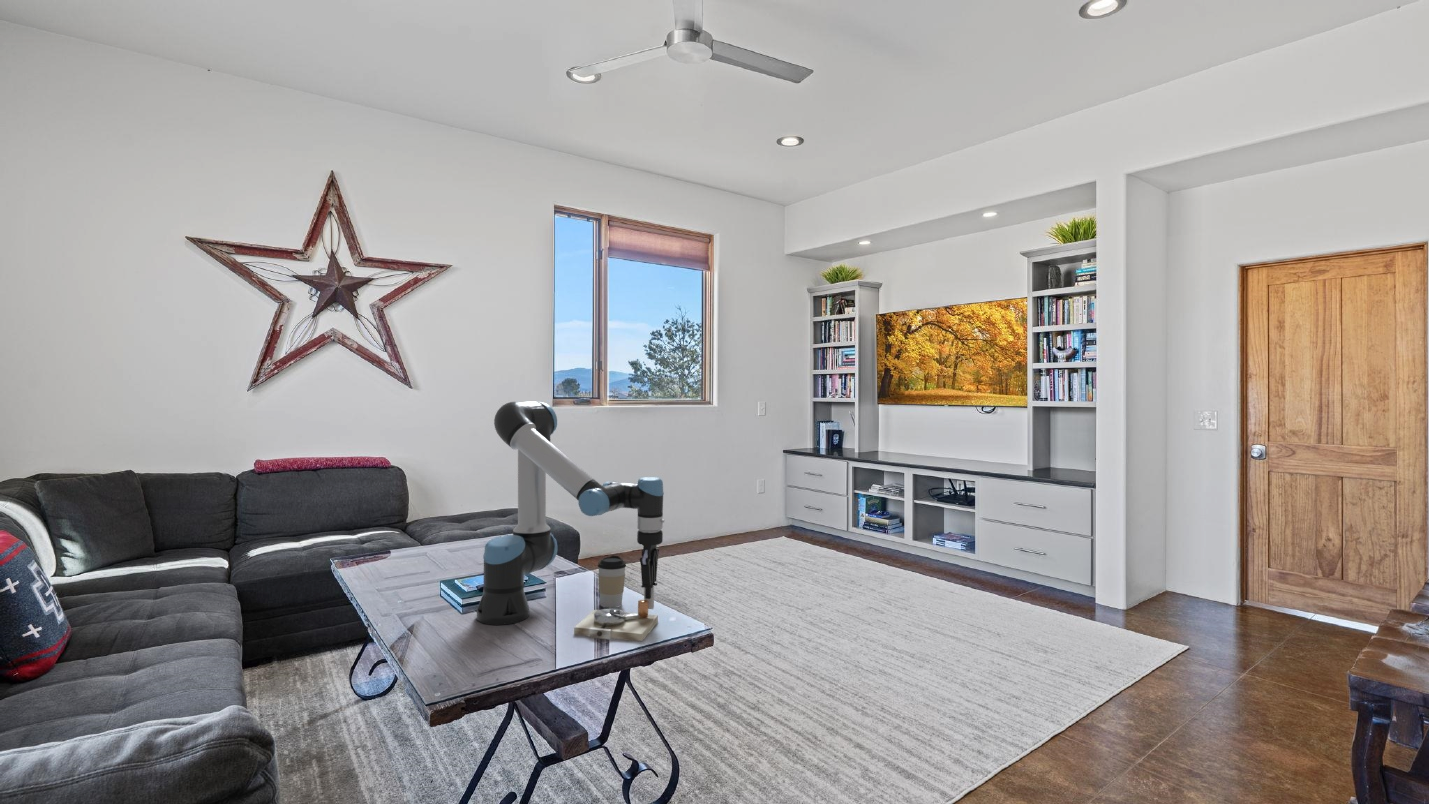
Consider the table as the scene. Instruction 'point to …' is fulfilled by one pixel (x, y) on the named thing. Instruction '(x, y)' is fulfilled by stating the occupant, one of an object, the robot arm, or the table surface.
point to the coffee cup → (611, 581)
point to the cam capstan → (620, 615)
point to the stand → (617, 628)
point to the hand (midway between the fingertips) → (648, 608)
